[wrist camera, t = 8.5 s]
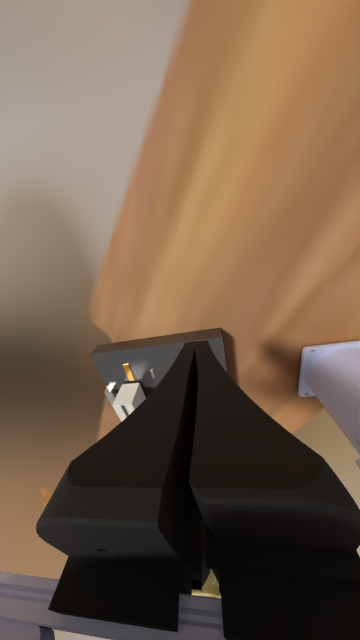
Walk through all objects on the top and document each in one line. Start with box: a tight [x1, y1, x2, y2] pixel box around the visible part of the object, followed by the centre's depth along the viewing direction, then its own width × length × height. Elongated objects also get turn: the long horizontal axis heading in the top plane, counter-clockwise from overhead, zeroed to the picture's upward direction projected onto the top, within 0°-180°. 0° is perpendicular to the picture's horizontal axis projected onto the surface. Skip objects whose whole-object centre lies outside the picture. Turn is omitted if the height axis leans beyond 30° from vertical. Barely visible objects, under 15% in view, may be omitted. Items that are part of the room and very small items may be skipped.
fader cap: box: [112, 383, 146, 422], centre depth 21 cm, size 2×4×3 cm, turn 12°
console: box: [90, 328, 227, 407], centre depth 23 cm, size 16×14×3 cm
